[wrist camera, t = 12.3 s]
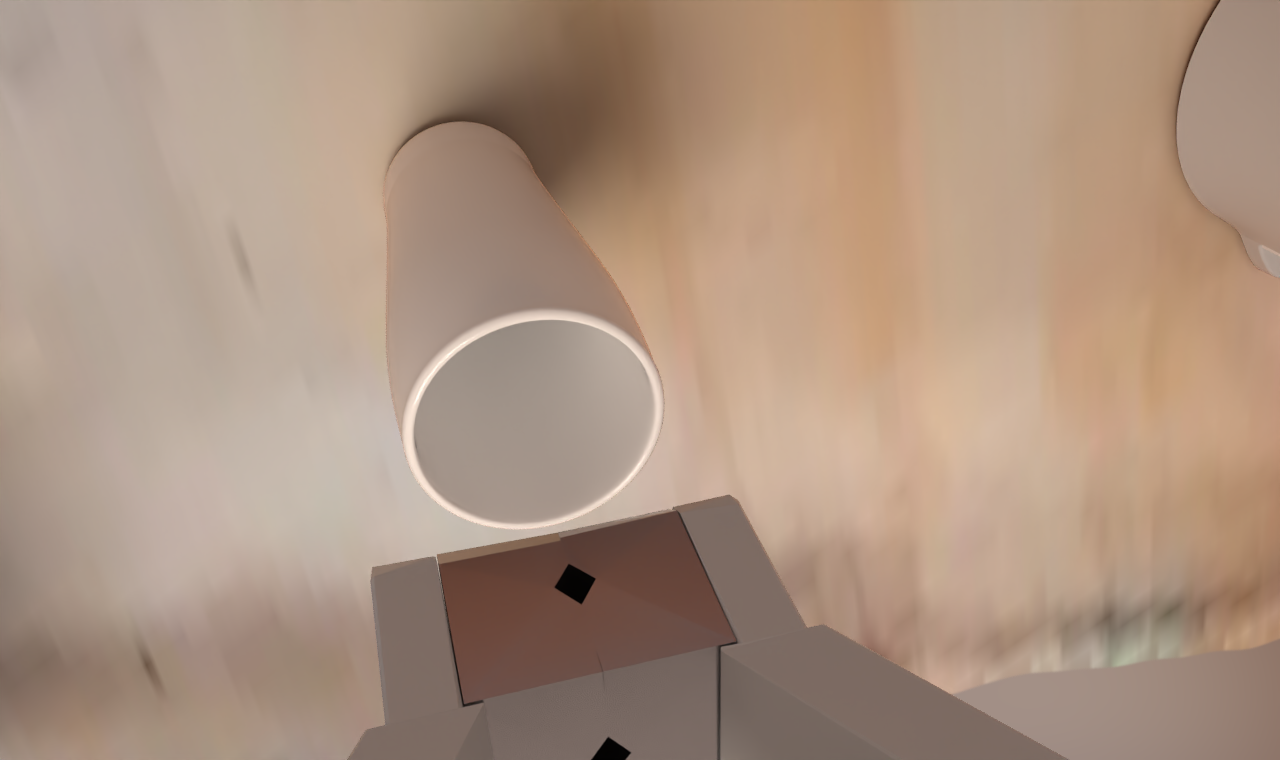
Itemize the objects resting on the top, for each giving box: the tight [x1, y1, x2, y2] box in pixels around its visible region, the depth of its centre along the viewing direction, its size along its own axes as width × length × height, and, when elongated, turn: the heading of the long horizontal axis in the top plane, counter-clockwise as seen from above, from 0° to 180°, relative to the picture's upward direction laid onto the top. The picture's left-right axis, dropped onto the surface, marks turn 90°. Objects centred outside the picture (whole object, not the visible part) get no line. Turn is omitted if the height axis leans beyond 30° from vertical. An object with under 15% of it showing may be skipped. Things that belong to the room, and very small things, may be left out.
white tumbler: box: [383, 121, 665, 529], centre depth 35 cm, size 7×7×15 cm
